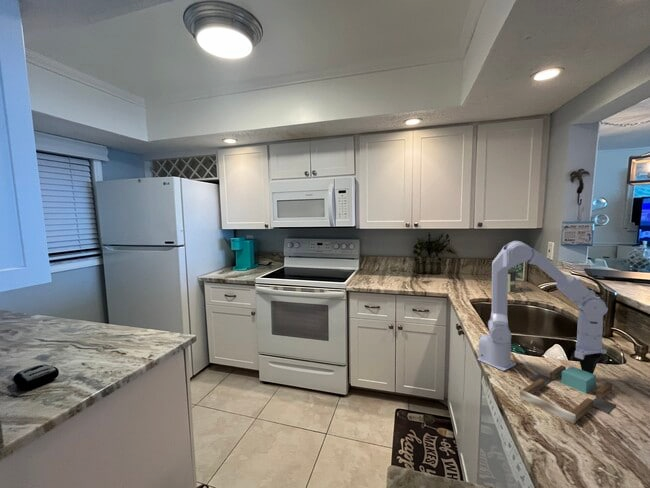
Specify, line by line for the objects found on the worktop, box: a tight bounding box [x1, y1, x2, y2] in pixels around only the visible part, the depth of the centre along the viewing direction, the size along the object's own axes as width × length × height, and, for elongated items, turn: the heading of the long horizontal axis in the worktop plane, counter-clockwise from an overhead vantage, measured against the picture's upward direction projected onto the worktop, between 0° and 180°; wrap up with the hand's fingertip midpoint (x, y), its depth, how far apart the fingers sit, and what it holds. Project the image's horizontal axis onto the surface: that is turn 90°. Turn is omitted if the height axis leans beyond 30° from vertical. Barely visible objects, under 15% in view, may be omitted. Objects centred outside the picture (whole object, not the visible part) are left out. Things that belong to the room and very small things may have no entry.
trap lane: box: [519, 364, 617, 425], centre depth 82 cm, size 18×26×2 cm
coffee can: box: [507, 269, 517, 294], centre depth 187 cm, size 10×10×14 cm
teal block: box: [561, 366, 597, 394], centre depth 86 cm, size 6×6×4 cm
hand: (587, 373), depth 89 cm, fingers closed
